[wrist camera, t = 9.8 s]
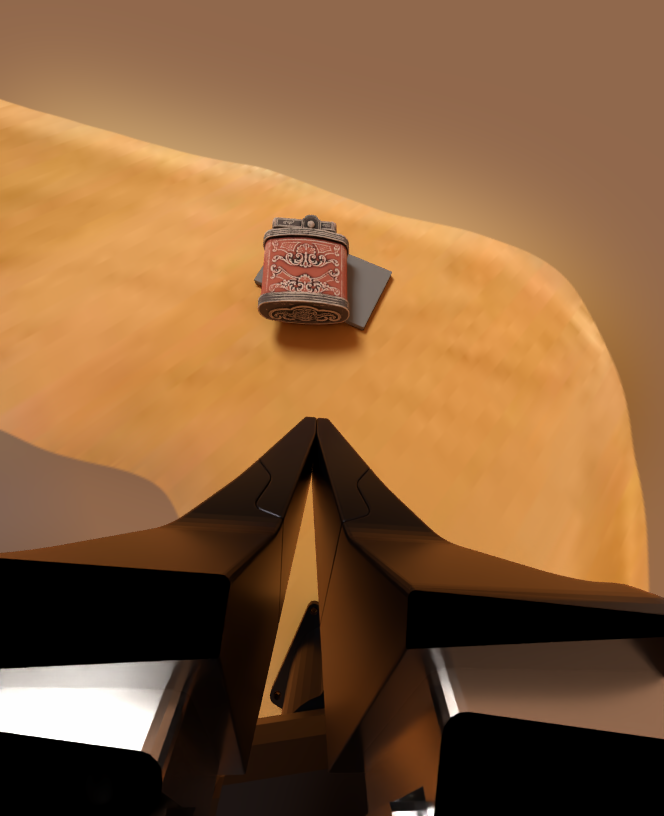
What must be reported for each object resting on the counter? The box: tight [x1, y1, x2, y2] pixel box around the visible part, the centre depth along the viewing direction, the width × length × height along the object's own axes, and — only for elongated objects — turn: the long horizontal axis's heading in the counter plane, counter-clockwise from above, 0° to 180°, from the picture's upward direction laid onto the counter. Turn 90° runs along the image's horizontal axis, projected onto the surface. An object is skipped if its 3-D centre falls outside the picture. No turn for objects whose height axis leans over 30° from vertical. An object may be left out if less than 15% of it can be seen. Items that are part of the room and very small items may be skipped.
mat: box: [254, 254, 392, 330], centre depth 25 cm, size 7×12×1 cm, turn 64°
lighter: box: [258, 215, 349, 324], centre depth 23 cm, size 8×3×10 cm
